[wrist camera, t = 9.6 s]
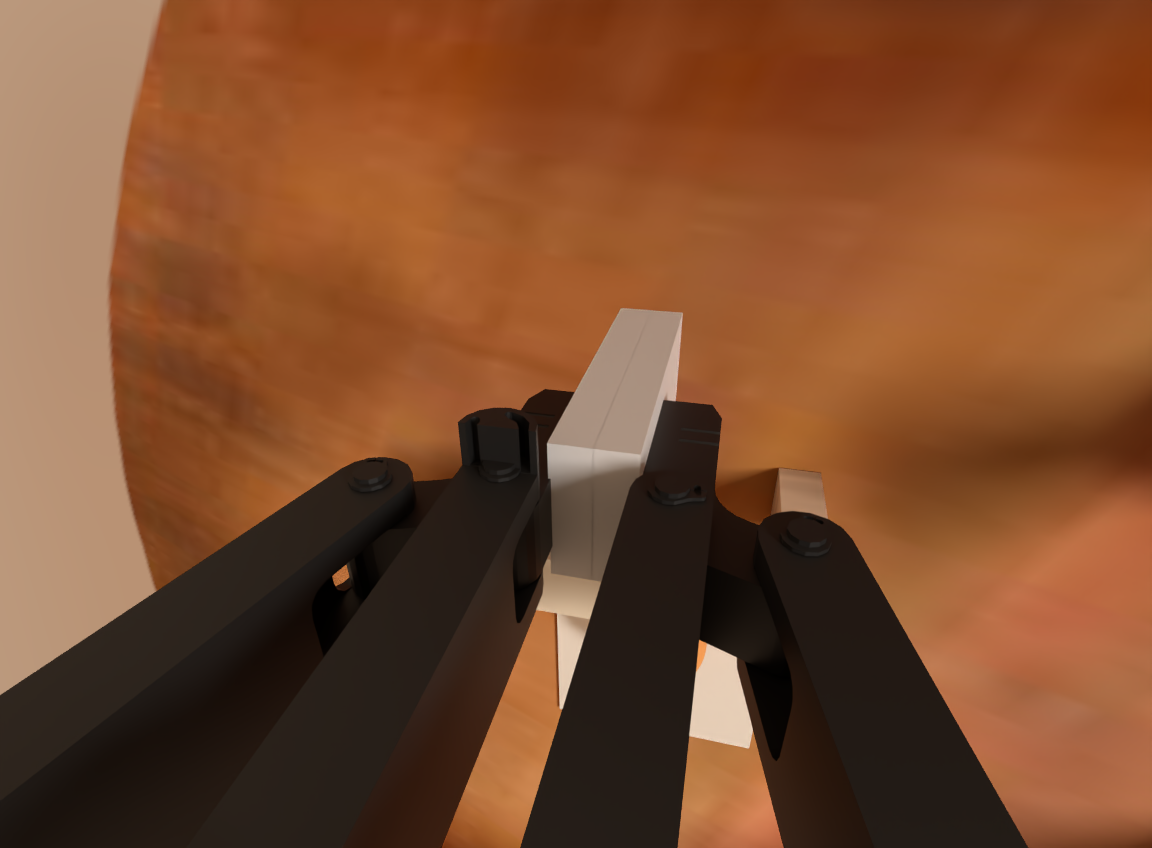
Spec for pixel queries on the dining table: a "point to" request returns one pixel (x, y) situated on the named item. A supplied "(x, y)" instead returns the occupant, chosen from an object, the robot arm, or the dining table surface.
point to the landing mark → (714, 692)
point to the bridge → (580, 594)
